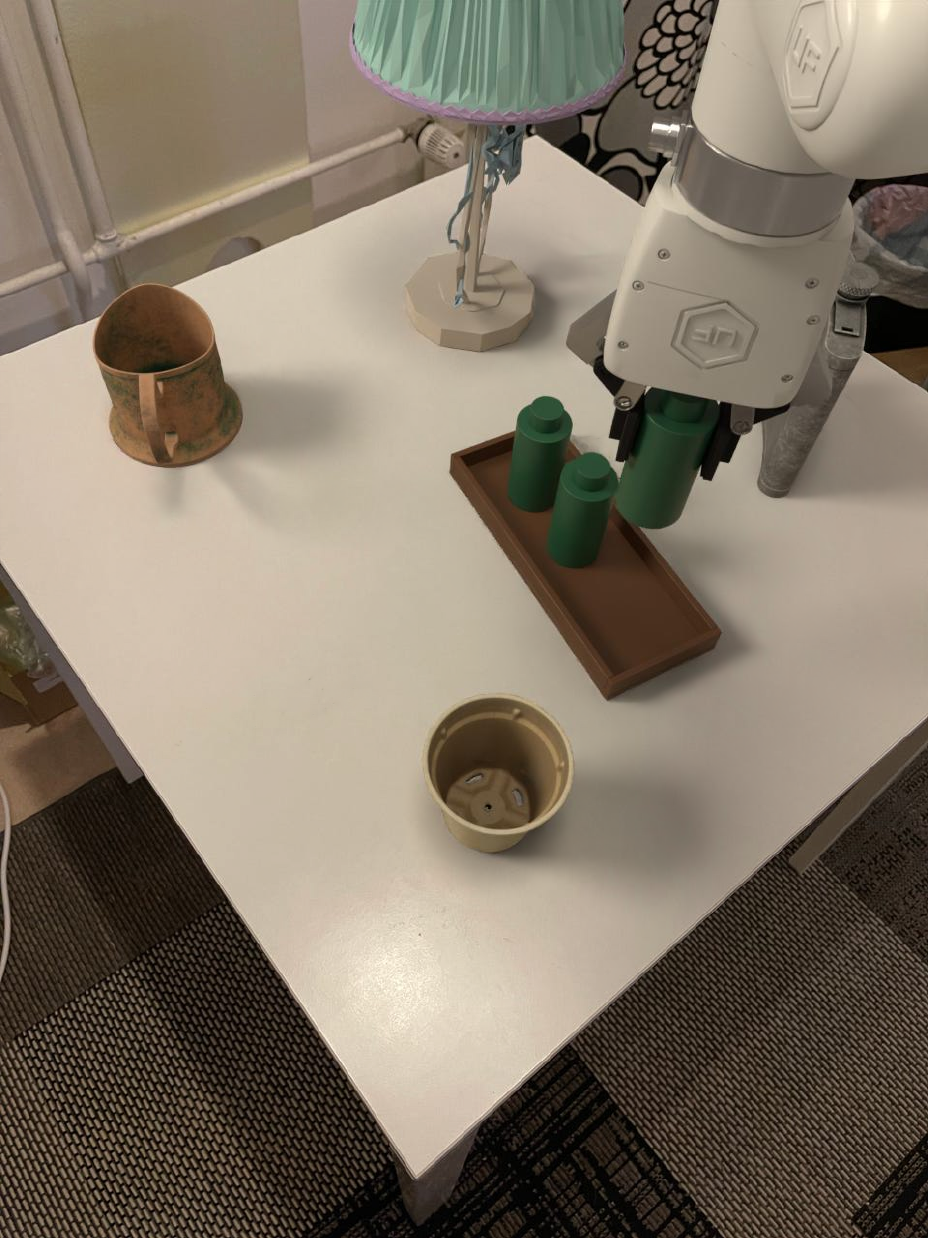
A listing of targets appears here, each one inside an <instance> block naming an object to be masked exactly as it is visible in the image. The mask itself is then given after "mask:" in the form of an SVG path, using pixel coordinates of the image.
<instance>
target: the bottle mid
mask: <svg viewBox="0 0 928 1238" xmlns="http://www.w3.org/2000/svg"><path fill="white" fill-rule="evenodd" d="M581 454H582V455H580V456H579V457H578V458H577V459H574V460H572V461H570V462H569V463H567V464H566V465H565V466H564V468H563V469H562V471H561V475H560V480H559V485H558V489H557V494H556V499H555V504H554V508H553V513H552V518H551V523H550V527H549V532H548V537H547V542H546V548H547V551H548V553H549V555H550V556H551V558H552V559H553V560H554V561H556V562H557V563H558V564H560V565H562V566H565V567H569V568H581V567H585V566H587V565H589V564H591V563H592V562H593V561H594V560H595V559H596V558H597V556H598V553H599V550H600V547H601V543H602V540H603V536H604V533H605V530H606V526H607V523H608V519H609V516H610V513H611V509H612V506H613V502H614V499H615V494H616V490H617V487H618V484H619V477H618V474H617V472H616V471H615V468H613V467H612V466H611V463H610V461H609V459H608V458H607V457H605V456H604V455H603V454H601V453H598V452H594V451H593V452H592V451H589V452H588V451H587V452H583V453H581Z"/></svg>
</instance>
